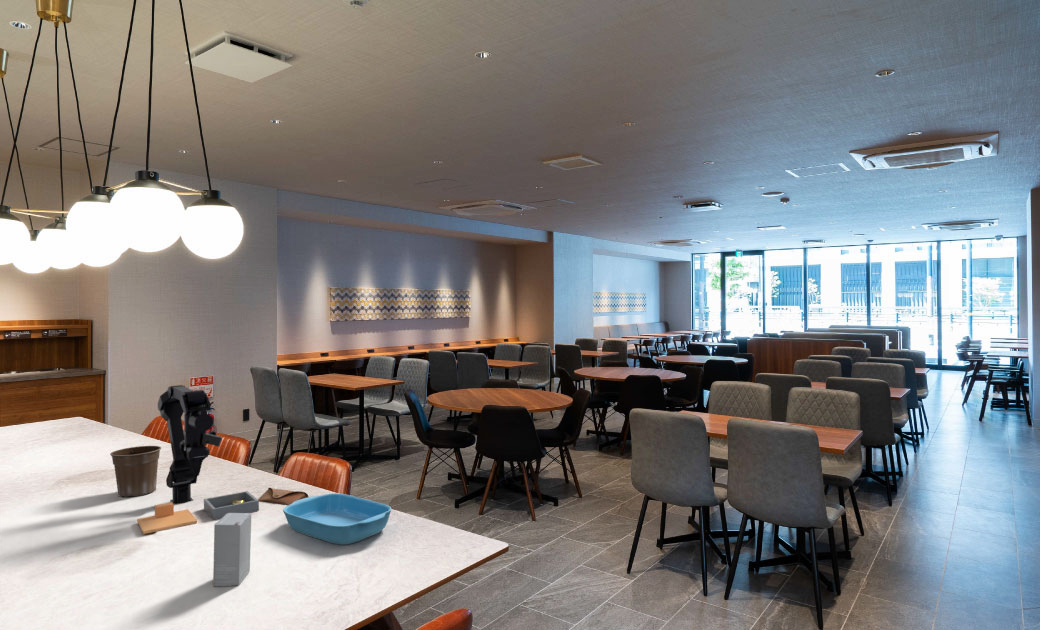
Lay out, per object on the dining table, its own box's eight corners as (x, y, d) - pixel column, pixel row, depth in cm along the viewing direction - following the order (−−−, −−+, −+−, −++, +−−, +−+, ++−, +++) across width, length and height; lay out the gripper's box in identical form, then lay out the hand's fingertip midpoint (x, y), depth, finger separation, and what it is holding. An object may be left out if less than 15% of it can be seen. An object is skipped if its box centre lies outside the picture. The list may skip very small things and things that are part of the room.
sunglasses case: (251, 502, 214) (258, 483, 217) (264, 507, 220) (270, 489, 223) (293, 507, 208) (299, 488, 211) (304, 512, 214) (311, 493, 217)
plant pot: (100, 496, 223) (99, 453, 223) (142, 484, 238) (141, 444, 238) (130, 501, 217) (130, 456, 217) (171, 489, 232) (171, 447, 232)
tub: (203, 510, 206) (203, 499, 206) (247, 502, 214) (247, 491, 214) (213, 521, 195) (213, 509, 195) (258, 512, 204) (258, 500, 204)
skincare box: (225, 573, 156) (224, 512, 156) (253, 572, 157) (253, 511, 157) (211, 588, 148) (210, 523, 147) (241, 586, 148) (240, 522, 148)
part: (231, 505, 210) (231, 500, 210) (243, 503, 212) (243, 498, 212) (232, 508, 206) (232, 503, 206) (245, 506, 208) (245, 501, 208)
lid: (137, 524, 194) (136, 507, 194) (188, 514, 203) (187, 498, 203) (143, 537, 183) (143, 519, 183) (197, 526, 192) (196, 509, 192)
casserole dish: (270, 528, 189) (269, 506, 189) (329, 509, 207) (329, 488, 207) (346, 555, 167) (346, 530, 167) (405, 531, 185) (405, 508, 185)
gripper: (225, 428, 203) (226, 474, 203) (214, 420, 218) (214, 463, 218) (188, 432, 196) (189, 480, 196) (179, 424, 211) (179, 468, 211)
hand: (194, 473), depth 206 cm, fingers open, 9 cm apart
